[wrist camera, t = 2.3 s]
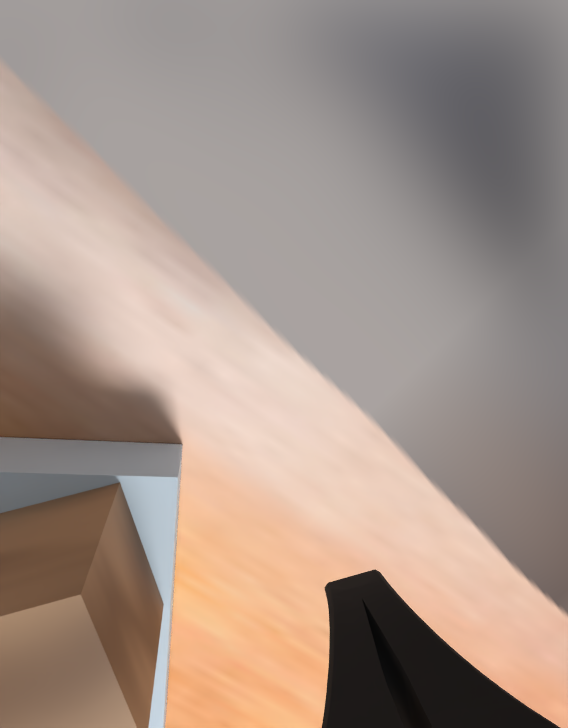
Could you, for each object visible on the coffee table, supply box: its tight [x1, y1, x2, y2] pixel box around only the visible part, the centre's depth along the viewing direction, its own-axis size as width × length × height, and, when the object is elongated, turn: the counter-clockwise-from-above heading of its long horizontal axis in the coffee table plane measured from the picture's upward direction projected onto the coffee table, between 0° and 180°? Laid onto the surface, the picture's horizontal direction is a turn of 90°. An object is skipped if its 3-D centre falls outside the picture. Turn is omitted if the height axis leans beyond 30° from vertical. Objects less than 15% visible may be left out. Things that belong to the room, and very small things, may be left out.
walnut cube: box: [0, 482, 164, 728], centre depth 14 cm, size 5×5×5 cm
